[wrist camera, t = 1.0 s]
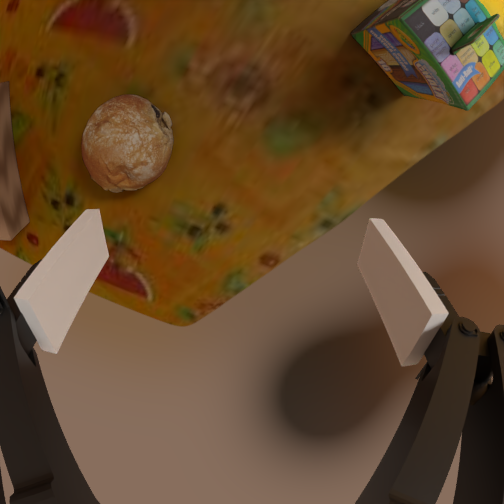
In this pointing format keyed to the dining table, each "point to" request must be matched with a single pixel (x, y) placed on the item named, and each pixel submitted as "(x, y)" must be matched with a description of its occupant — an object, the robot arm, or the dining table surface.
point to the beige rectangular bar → (9, 175)
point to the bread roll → (127, 143)
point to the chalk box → (435, 48)
